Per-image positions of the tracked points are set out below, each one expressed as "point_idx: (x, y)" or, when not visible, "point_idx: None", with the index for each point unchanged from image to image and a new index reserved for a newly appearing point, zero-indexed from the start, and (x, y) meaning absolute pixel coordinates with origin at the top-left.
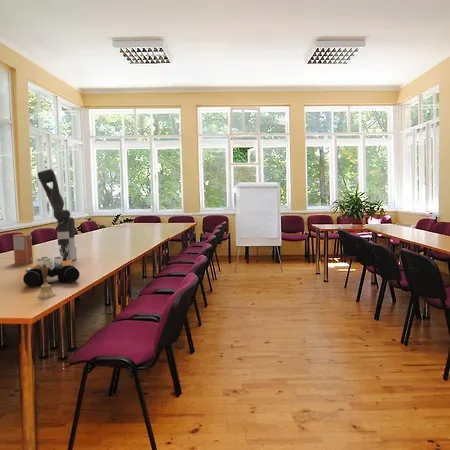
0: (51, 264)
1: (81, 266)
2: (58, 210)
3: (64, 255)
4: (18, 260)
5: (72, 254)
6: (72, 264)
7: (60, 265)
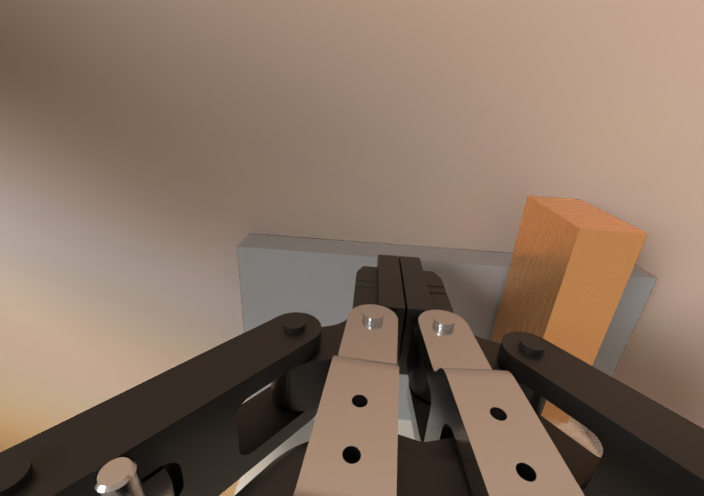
0: None
1: (628, 23)
2: None
3: (563, 449)
4: None
5: None
6: (582, 204)
7: None
